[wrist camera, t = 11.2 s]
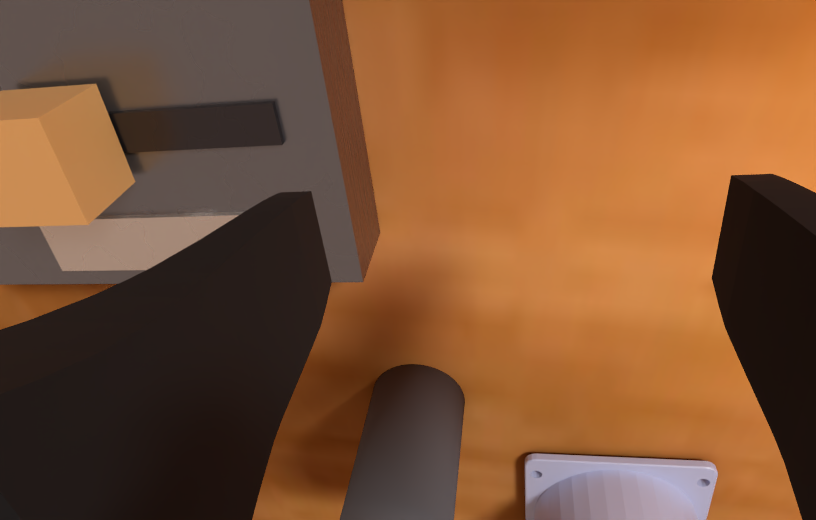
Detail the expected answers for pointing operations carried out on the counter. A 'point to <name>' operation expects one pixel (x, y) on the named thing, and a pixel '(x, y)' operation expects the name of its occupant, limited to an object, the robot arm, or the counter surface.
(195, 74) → the panel
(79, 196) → the block
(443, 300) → the counter surface
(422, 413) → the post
